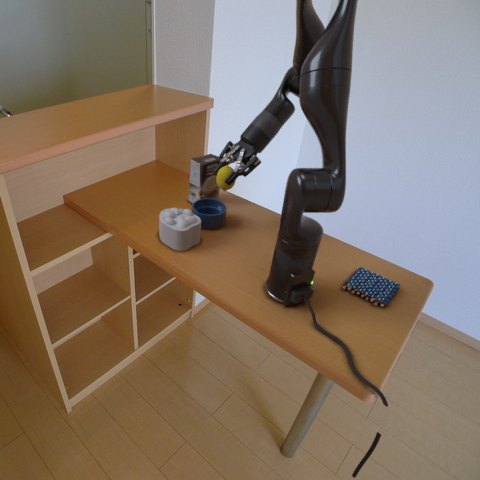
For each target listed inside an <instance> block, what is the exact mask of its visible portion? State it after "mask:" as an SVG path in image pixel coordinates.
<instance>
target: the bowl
mask: <svg viewBox="0 0 480 480" xmlns="http://www.w3.org/2000/svg"><path fill="white" fill-rule="evenodd" d="M227 209H228V207H227V205H226V203H224V202H223V201H221V200H219V199H218V200H216V199H210V198H206V199H199V200H197V201H195V202H194V203H192V205H191V211H192V213H193V214H195V215H196V216H198V217H199V218H200V219H201V229H207V230H210V229H211V230H213V229H219V228H221V227H222V226H224V225H225V223H226V218H227Z"/></svg>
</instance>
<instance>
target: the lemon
mask: <svg viewBox="0 0 480 480" xmlns="http://www.w3.org/2000/svg"><path fill="white" fill-rule="evenodd" d="M234 169H235V168H233V167H231V166H229V165H226V166H224V167H222V168H221V169H220V170H219V171H218V173H217V177H216V182H217V185H218V187H219V188H220V190H222V191H223V192H227V191H229V190H231V189H233V187H234V186H235V184H236V180H237V179H236V180H235V181H234V182H233V183H232V184H231V185H227V184H226V183H225V182H224V181H225V179H226V178H227V177H228V176H229V174H230V173H231V172H232V171H234Z"/></svg>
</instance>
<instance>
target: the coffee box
mask: <svg viewBox="0 0 480 480" xmlns="http://www.w3.org/2000/svg"><path fill="white" fill-rule="evenodd" d="M219 163H220V159H219V155H216V154H214V153H213V154H212V153H208V154H204V155H200V156H196V157H192V158H190V169H189V186H188V187H189V188H188V201H189V202H190V203H191V204H193V203H194V202H195V201H197V200H199V199H206V198H210V199H216V200H219V198H220V190H221V189H220V188H219V187H218V185H217V182H216V177H217V176H216V175H214V174H213V171H214V169H215V168H216V167H217V166H218V165H219Z"/></svg>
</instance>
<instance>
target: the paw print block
mask: <svg viewBox="0 0 480 480" xmlns="http://www.w3.org/2000/svg"><path fill="white" fill-rule="evenodd" d="M158 217H159V218H158V226H159V227H158V231H159V233H158V235H159V236H158V237H159V240H160V242H162V243H163V244H164V245H166V246H167V247H169V248H170V249H172V250H175V251H178V252H185V251H188V250H189V249H191V248H192V247H194V246H197V245H199V244H200V242H201V231H202V228H201V219H200V218H199V217H198V216H196V215H195V214H193V213H192V209H189V208H178V207H171V208H165V209H163V210H161V211H160V213H159V216H158Z"/></svg>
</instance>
